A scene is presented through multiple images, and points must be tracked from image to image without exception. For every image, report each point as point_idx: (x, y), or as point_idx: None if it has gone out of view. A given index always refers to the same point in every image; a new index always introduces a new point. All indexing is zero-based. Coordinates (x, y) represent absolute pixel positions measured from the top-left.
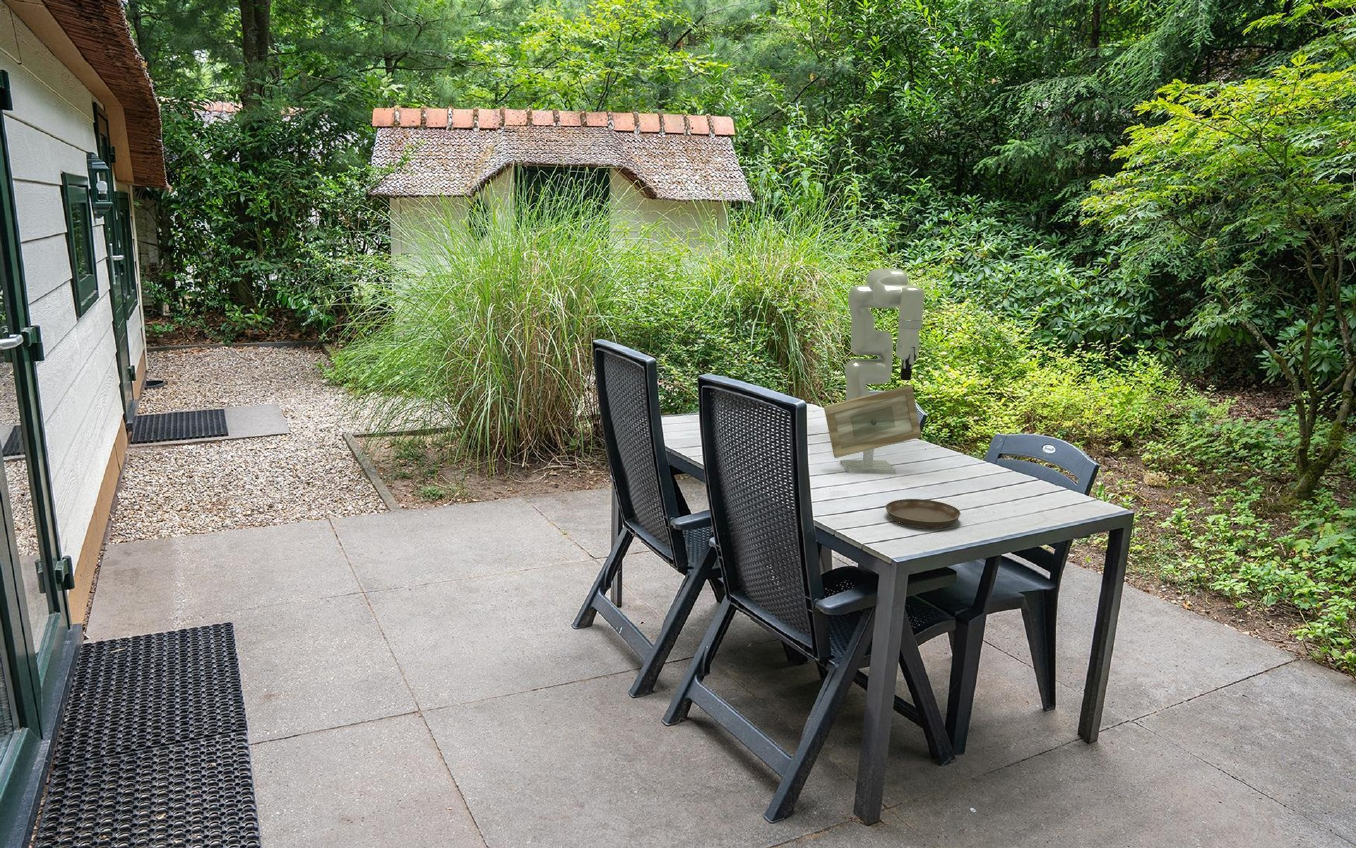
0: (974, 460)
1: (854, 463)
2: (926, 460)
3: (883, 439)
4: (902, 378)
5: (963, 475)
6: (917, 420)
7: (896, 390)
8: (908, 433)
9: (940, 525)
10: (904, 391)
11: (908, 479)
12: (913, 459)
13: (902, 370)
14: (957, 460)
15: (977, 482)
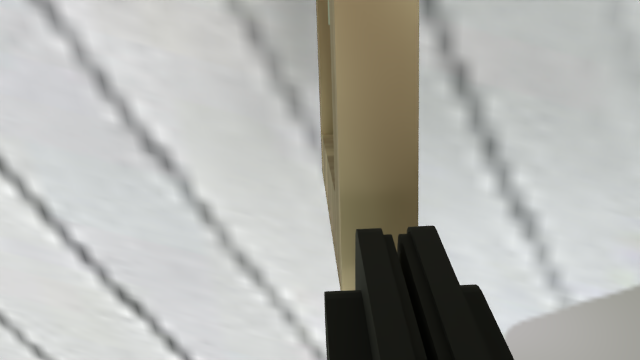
0: None
1: None
2: (502, 182)
3: None
4: (356, 251)
5: (279, 250)
6: (325, 187)
7: (335, 98)
8: (321, 103)
9: None
10: (337, 190)
11: (184, 23)
12: (524, 136)
13: (378, 344)
14: (492, 286)
15: (189, 267)
